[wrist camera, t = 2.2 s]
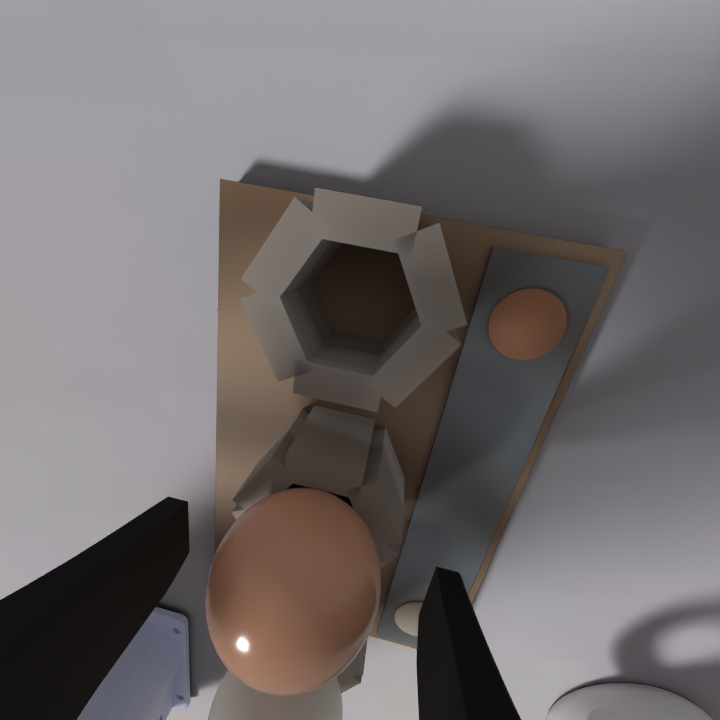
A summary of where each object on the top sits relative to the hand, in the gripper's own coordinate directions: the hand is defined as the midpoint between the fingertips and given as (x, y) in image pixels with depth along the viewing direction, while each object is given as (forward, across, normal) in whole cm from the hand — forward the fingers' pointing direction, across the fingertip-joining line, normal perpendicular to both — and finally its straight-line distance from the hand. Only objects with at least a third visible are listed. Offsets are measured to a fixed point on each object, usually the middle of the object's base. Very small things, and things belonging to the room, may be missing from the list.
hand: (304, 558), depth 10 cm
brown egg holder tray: (+5, -1, 0) cm, 5 cm away
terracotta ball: (-1, 0, 0) cm, 1 cm away
